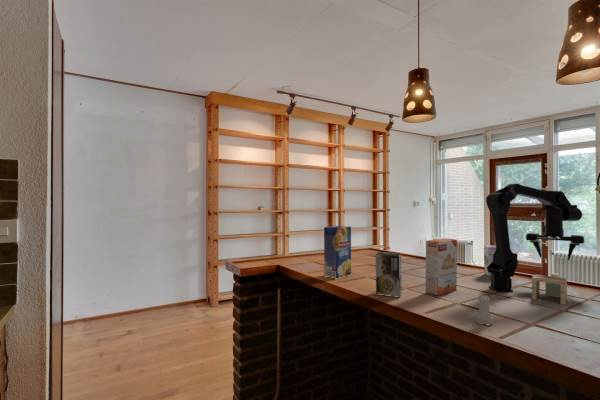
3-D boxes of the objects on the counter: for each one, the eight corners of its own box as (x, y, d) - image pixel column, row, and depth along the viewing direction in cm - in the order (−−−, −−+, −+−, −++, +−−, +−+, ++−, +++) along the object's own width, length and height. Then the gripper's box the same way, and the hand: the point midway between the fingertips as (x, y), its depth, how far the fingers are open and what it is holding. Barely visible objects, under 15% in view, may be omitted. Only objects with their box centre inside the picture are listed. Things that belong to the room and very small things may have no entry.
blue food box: (336, 279, 149) (336, 228, 149) (324, 277, 154) (323, 227, 154) (351, 275, 157) (351, 226, 158) (338, 273, 163) (338, 225, 163)
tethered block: (562, 298, 119) (562, 281, 119) (545, 295, 123) (545, 279, 123) (562, 288, 132) (562, 274, 132) (547, 286, 135) (547, 272, 135)
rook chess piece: (472, 320, 97) (472, 294, 97) (486, 319, 98) (486, 293, 98) (482, 326, 93) (481, 298, 93) (496, 325, 93) (496, 298, 93)
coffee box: (402, 293, 126) (401, 252, 126) (399, 298, 120) (399, 255, 120) (378, 291, 129) (378, 251, 130) (375, 295, 124) (375, 253, 124)
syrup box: (501, 277, 152) (501, 246, 152) (488, 276, 153) (487, 246, 153) (496, 274, 157) (496, 245, 158) (483, 274, 159) (483, 244, 159)
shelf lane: (565, 304, 112) (564, 281, 112) (532, 299, 118) (532, 277, 118) (567, 298, 118) (566, 277, 118) (535, 293, 125) (535, 273, 125)
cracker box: (439, 296, 122) (438, 241, 122) (424, 293, 127) (424, 240, 127) (458, 290, 130) (457, 239, 130) (443, 287, 135) (443, 237, 135)
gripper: (584, 221, 133) (585, 258, 133) (530, 219, 146) (530, 253, 146) (583, 222, 125) (583, 262, 125) (525, 220, 138) (526, 257, 138)
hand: (554, 258), depth 134 cm, fingers open, 9 cm apart
